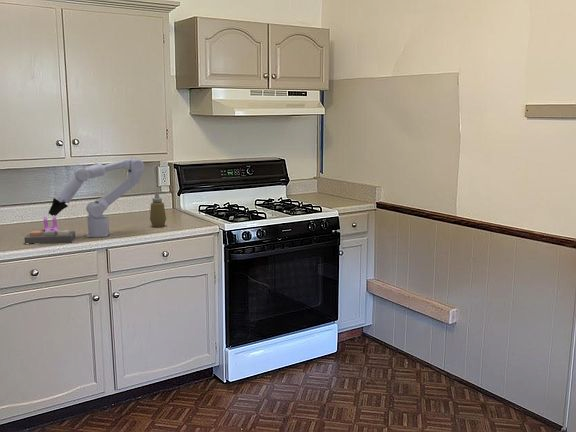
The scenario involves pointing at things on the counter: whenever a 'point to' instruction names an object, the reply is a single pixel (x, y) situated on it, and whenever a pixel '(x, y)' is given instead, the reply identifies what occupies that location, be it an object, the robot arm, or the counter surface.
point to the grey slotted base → (51, 238)
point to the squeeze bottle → (157, 212)
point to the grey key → (50, 233)
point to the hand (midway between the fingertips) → (51, 214)
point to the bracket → (53, 224)
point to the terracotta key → (36, 233)
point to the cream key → (63, 232)
